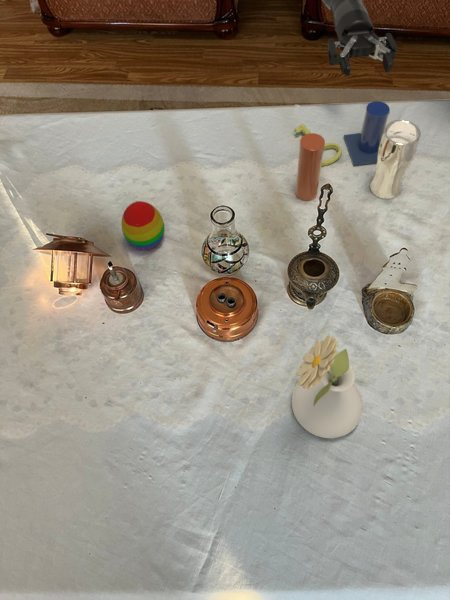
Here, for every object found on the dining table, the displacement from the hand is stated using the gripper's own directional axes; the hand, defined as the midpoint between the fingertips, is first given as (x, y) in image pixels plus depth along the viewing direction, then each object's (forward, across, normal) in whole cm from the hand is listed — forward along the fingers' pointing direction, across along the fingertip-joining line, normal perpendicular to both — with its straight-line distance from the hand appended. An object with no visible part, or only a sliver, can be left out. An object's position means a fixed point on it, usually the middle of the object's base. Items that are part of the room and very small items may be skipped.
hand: (368, 70), depth 110 cm
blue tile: (+10, 0, +12) cm, 16 cm away
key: (+8, -11, +13) cm, 19 cm away
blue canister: (+10, 0, +12) cm, 15 cm away
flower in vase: (+67, -20, +13) cm, 71 cm away
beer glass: (+21, +1, +13) cm, 25 cm away
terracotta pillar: (+20, -15, +12) cm, 29 cm away
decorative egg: (+28, -49, +13) cm, 58 cm away
